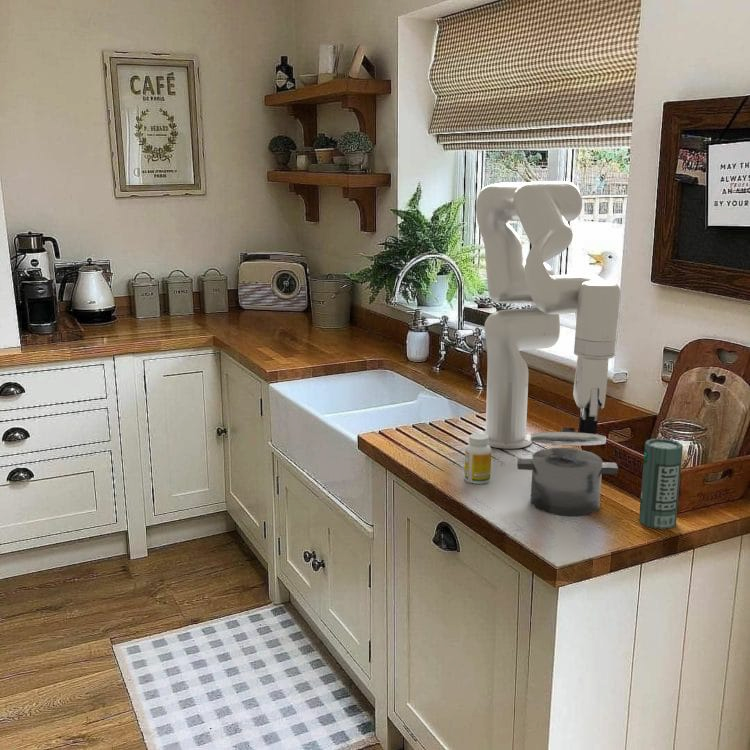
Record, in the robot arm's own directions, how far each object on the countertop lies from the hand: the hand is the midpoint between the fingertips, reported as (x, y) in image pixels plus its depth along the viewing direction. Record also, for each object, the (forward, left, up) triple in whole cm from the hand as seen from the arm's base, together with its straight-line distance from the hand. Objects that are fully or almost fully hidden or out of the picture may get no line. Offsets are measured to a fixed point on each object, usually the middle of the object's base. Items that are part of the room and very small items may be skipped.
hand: (586, 437), depth 161 cm
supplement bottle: (-5, -21, -12) cm, 25 cm away
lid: (+4, -4, 0) cm, 6 cm away
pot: (+5, -4, -12) cm, 13 cm away
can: (+12, +12, -12) cm, 21 cm away
